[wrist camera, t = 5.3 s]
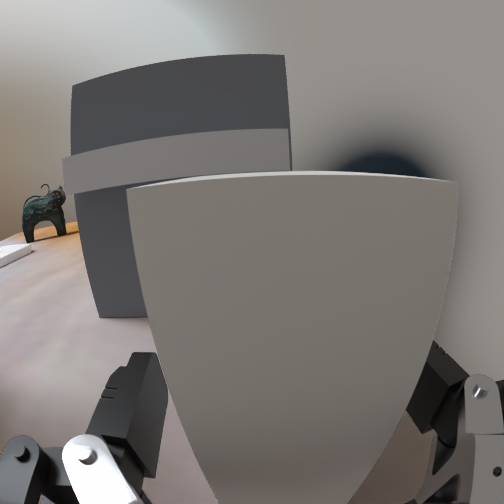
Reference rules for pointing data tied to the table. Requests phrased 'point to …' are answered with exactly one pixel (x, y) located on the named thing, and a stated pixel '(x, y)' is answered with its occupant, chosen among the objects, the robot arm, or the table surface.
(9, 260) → the mac mini
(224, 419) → the white block
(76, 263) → the table surface
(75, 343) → the table surface
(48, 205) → the ceramic cat
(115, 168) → the wall board
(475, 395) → the robot arm
